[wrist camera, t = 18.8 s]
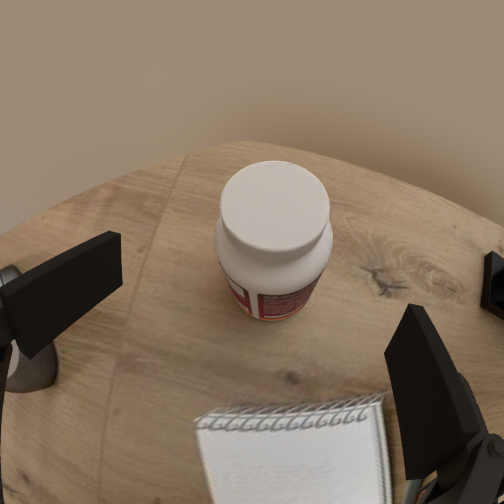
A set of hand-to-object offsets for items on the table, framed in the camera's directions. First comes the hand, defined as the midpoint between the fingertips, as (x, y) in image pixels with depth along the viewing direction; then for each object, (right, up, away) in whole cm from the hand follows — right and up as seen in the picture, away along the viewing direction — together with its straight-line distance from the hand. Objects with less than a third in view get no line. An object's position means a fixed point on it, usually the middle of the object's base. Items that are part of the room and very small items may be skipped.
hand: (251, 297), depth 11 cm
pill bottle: (+1, -1, +10) cm, 10 cm away
